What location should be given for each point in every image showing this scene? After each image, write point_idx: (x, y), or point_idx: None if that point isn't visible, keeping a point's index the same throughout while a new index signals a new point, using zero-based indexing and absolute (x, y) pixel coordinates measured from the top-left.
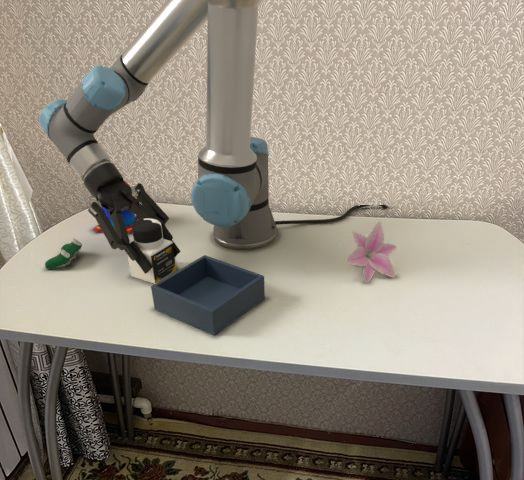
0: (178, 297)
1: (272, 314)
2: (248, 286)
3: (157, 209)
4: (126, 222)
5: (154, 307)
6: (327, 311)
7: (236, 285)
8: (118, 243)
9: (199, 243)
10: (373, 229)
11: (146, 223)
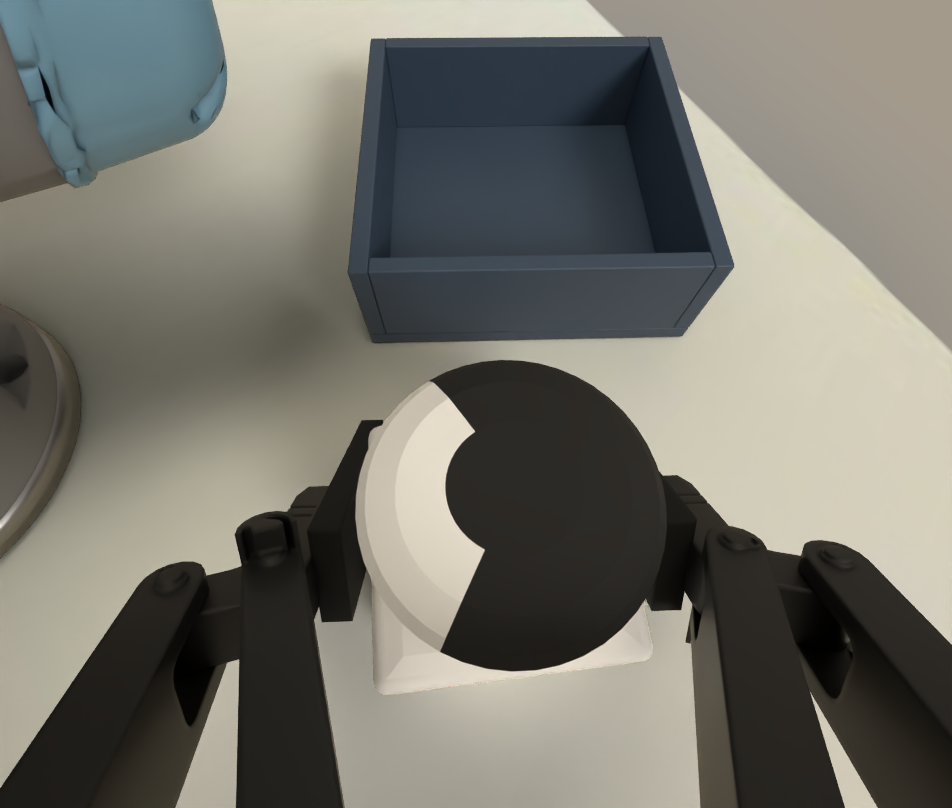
0: (694, 143)
1: None
2: (465, 38)
3: (123, 690)
4: None
5: (686, 329)
6: (351, 15)
7: (391, 191)
8: (834, 546)
9: (65, 616)
10: None
11: (532, 457)
